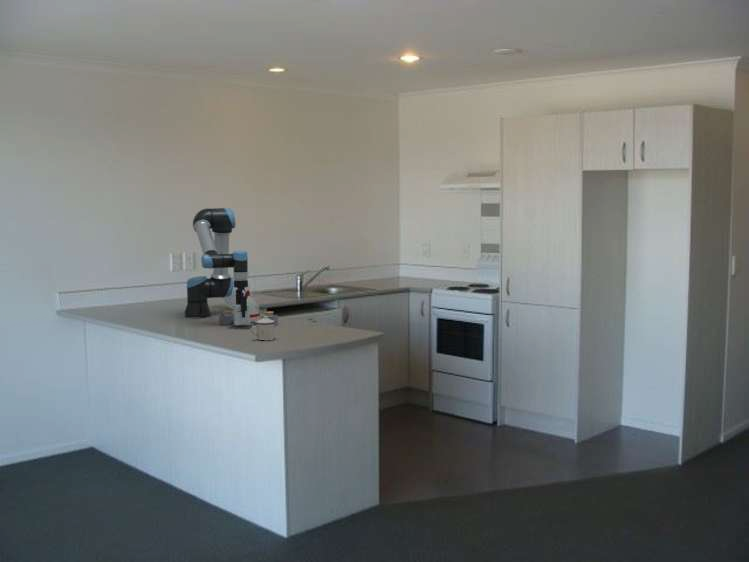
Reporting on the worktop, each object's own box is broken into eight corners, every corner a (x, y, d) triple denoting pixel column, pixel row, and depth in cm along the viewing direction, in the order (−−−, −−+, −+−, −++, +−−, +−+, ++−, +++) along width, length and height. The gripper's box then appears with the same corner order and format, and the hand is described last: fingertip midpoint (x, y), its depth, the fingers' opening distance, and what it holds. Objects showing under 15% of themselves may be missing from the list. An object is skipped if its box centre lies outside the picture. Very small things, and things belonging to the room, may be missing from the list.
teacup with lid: (271, 337, 408) (271, 314, 407) (277, 340, 400) (277, 316, 399) (248, 339, 403) (248, 316, 402) (254, 342, 395) (253, 318, 394)
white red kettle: (262, 314, 489) (261, 289, 487) (256, 317, 475) (256, 292, 473) (239, 314, 490) (238, 289, 488) (233, 317, 476) (232, 292, 475)
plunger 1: (225, 320, 454) (225, 310, 454) (233, 320, 454) (233, 310, 453) (222, 322, 450) (221, 311, 449) (230, 322, 449) (230, 311, 448)
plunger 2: (266, 321, 450) (266, 311, 450) (274, 321, 449) (274, 311, 449) (263, 323, 446) (263, 312, 445) (272, 323, 445) (272, 312, 444)
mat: (234, 326, 444) (234, 324, 444) (255, 326, 442) (255, 325, 442) (228, 328, 436) (228, 327, 436) (249, 329, 433) (249, 328, 433)
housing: (225, 322, 458) (225, 313, 458) (278, 323, 453) (278, 314, 452) (217, 325, 447) (217, 316, 446) (272, 326, 441) (272, 317, 441)
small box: (248, 323, 443) (247, 303, 442) (250, 324, 438) (249, 305, 436) (233, 323, 440) (233, 304, 439) (235, 325, 435) (234, 305, 434)
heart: (211, 308, 517) (210, 273, 515) (233, 305, 527) (232, 271, 524) (232, 312, 495) (231, 276, 493) (254, 310, 505) (254, 274, 502)
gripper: (252, 281, 429) (253, 324, 432) (242, 277, 446) (243, 319, 449) (238, 281, 426) (239, 325, 429) (229, 278, 443) (230, 320, 446)
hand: (241, 322), depth 439 cm, fingers closed on small box, 6 cm apart
